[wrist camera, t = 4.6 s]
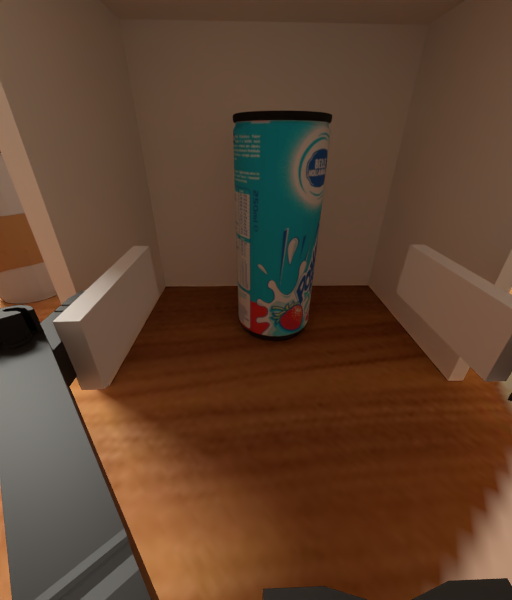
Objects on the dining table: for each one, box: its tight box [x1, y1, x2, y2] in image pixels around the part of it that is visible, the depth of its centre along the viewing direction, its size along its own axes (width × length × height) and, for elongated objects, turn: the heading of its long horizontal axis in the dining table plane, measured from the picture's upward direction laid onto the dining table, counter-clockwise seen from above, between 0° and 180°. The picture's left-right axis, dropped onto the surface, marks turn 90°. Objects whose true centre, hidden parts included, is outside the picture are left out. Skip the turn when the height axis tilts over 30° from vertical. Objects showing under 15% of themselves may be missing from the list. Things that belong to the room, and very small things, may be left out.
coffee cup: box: [0, 152, 57, 304], centre depth 25 cm, size 8×8×15 cm
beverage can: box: [233, 111, 332, 340], centre depth 20 cm, size 6×6×15 cm
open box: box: [0, 0, 512, 386], centre depth 19 cm, size 24×15×22 cm, turn 91°
